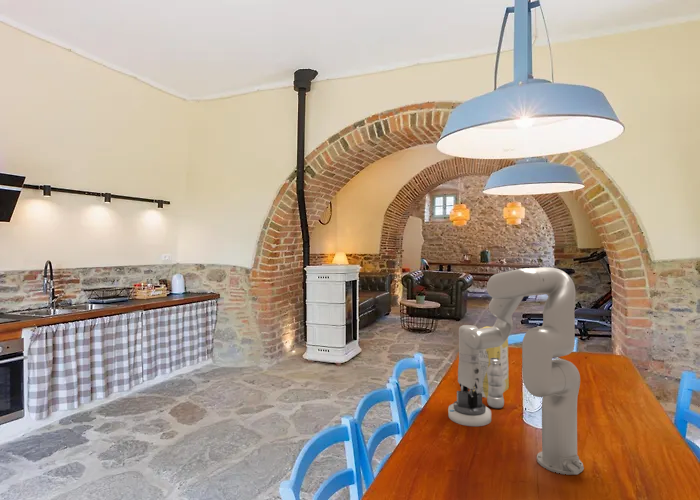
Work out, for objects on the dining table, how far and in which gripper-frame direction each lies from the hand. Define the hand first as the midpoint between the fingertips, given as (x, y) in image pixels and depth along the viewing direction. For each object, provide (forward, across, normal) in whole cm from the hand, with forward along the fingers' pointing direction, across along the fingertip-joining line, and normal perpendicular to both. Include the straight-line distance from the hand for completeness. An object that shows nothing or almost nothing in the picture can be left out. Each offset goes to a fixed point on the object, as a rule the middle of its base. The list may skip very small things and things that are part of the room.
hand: (469, 403), depth 159 cm
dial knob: (+2, 0, 0) cm, 2 cm away
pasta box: (+6, +22, -26) cm, 34 cm away
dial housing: (+5, 0, 0) cm, 5 cm away
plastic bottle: (+6, +5, -16) cm, 18 cm away
